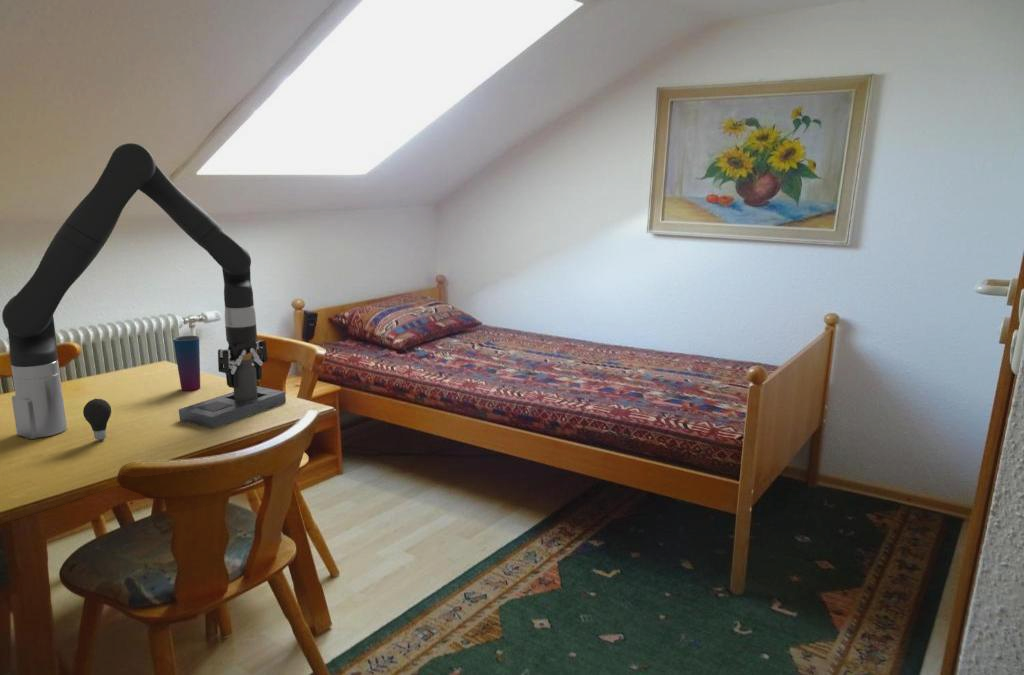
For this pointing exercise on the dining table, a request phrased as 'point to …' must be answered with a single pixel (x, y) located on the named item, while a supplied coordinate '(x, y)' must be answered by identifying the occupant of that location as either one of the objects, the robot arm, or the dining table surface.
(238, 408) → the panel
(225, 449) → the dining table surface
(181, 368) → the cup
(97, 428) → the light bulb
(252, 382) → the bottle
